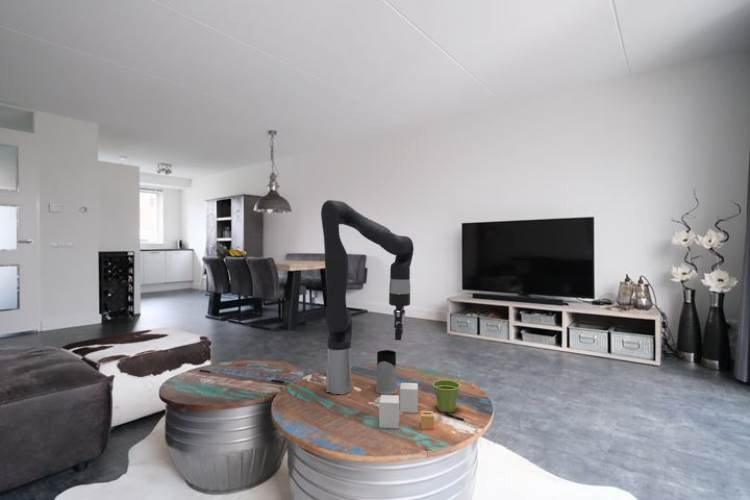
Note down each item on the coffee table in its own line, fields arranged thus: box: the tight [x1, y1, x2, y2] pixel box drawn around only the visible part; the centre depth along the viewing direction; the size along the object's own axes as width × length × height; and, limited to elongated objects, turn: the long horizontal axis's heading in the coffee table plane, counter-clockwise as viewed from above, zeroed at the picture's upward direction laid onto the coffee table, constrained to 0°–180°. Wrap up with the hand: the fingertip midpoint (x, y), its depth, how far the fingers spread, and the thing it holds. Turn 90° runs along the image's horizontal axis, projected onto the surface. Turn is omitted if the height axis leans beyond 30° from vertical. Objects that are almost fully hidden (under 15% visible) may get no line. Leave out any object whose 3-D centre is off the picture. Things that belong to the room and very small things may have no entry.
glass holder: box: [375, 349, 398, 395], centre depth 152 cm, size 9×14×15 cm, turn 166°
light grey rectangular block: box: [399, 382, 419, 414], centre depth 132 cm, size 6×6×8 cm
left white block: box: [378, 394, 400, 429], centre depth 121 cm, size 6×6×8 cm
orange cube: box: [420, 410, 435, 430], centre depth 119 cm, size 4×4×4 cm
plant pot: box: [432, 379, 461, 413], centre depth 131 cm, size 9×9×9 cm
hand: (398, 337), depth 134 cm, fingers open, 8 cm apart
